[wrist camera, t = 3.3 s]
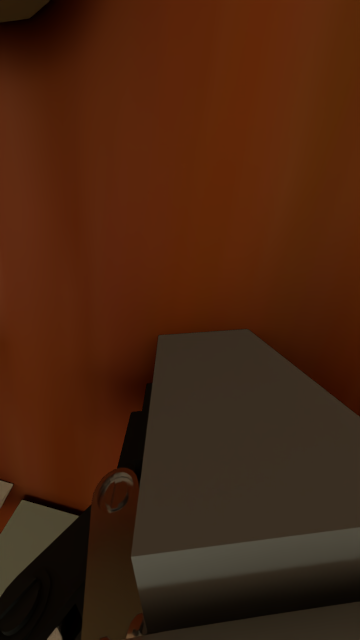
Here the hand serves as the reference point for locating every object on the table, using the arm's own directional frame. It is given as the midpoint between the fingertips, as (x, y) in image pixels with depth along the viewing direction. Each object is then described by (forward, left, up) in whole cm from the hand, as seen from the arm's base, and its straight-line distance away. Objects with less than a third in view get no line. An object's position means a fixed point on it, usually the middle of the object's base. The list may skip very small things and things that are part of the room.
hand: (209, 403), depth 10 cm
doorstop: (0, 0, -2) cm, 2 cm away
